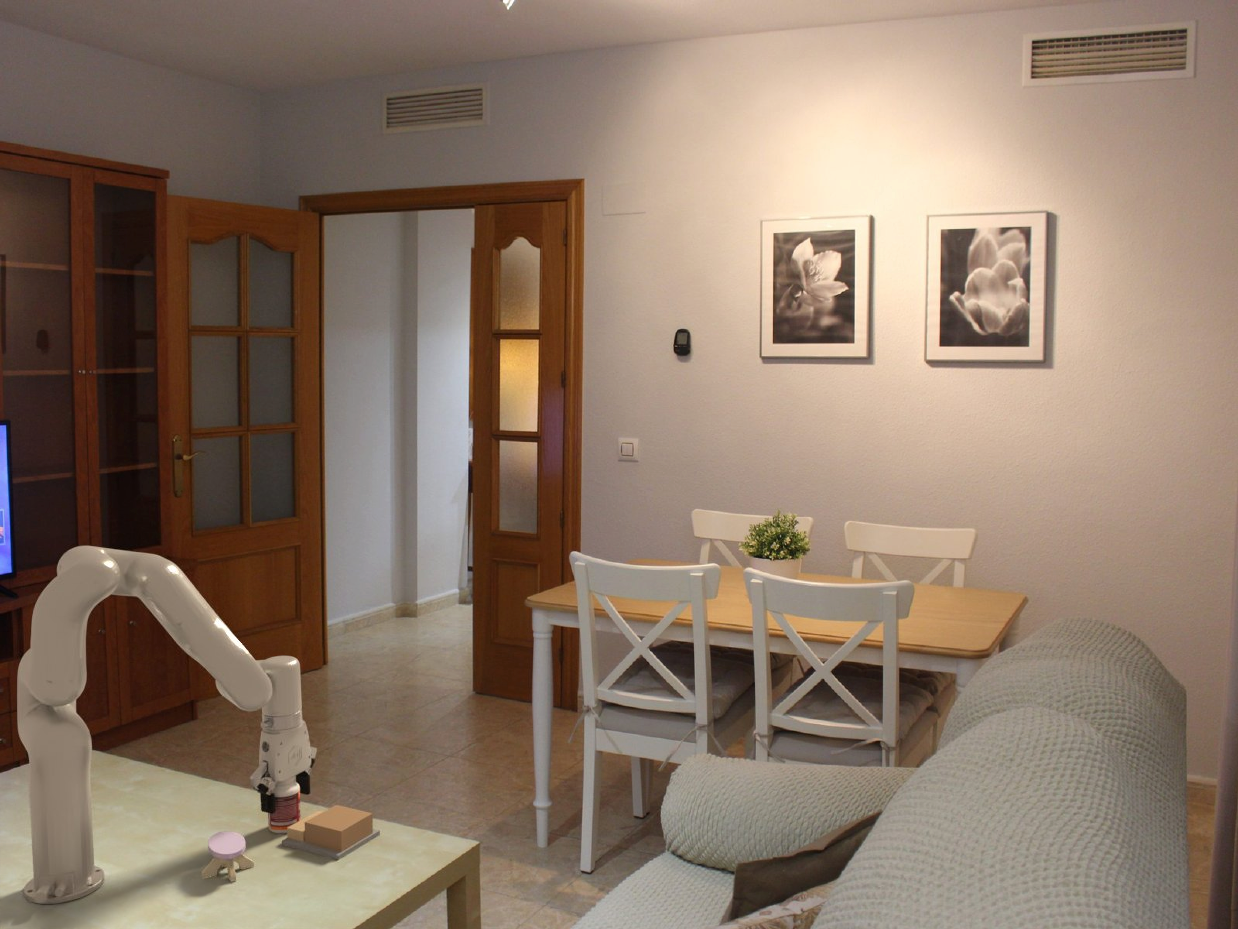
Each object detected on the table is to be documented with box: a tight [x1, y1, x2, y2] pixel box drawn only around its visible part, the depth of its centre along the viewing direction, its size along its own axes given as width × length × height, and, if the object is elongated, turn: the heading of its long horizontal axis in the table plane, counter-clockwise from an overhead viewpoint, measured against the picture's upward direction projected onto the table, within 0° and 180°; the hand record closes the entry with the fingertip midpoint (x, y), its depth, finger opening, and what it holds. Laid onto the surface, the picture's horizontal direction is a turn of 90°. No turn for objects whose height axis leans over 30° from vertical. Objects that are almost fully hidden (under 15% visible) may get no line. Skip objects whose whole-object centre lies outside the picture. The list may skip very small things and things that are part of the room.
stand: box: [281, 804, 381, 860], centre depth 206 cm, size 14×12×5 cm
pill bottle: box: [267, 776, 302, 834], centre depth 211 cm, size 6×6×11 cm
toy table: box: [201, 830, 255, 883], centre depth 193 cm, size 10×9×6 cm
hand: (286, 802), depth 211 cm, fingers open, 9 cm apart
